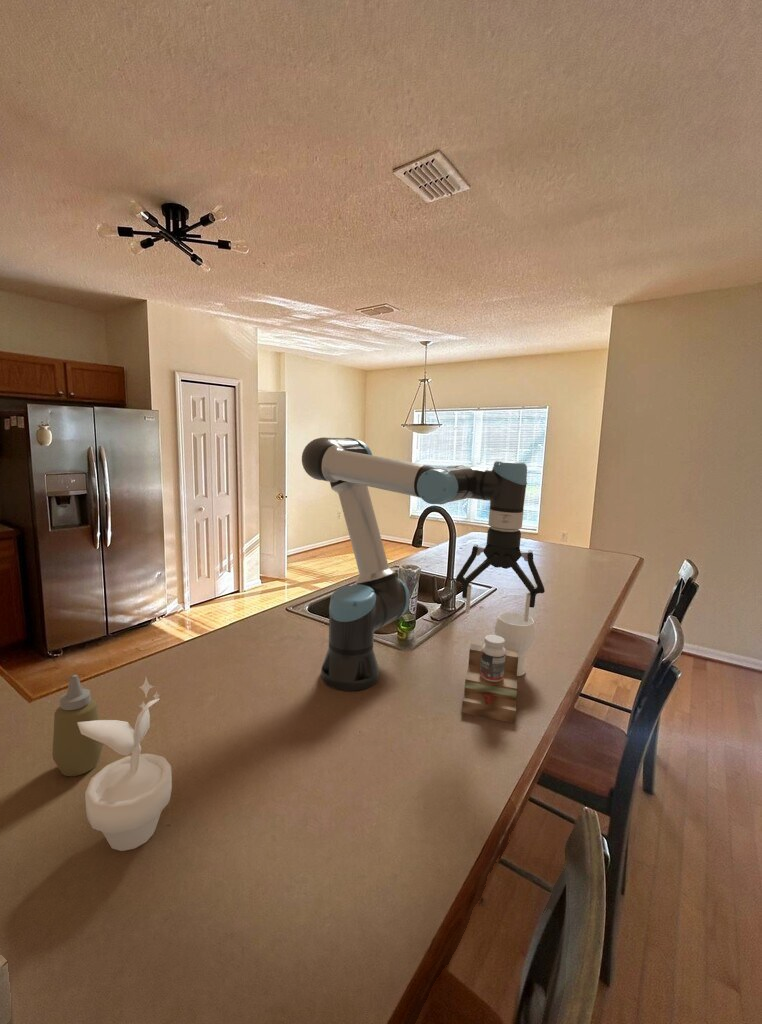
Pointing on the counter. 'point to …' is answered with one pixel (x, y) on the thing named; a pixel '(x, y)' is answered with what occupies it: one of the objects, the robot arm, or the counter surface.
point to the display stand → (491, 688)
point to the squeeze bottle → (75, 731)
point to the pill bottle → (493, 658)
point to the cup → (516, 635)
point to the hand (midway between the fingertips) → (496, 615)
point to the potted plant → (127, 782)
